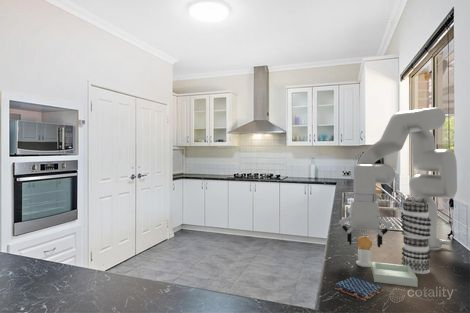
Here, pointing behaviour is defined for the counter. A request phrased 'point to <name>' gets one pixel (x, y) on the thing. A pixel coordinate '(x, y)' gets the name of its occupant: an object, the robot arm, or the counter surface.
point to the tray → (394, 274)
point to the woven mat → (359, 288)
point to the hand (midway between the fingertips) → (364, 245)
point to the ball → (364, 243)
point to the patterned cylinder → (416, 234)
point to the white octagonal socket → (364, 257)
